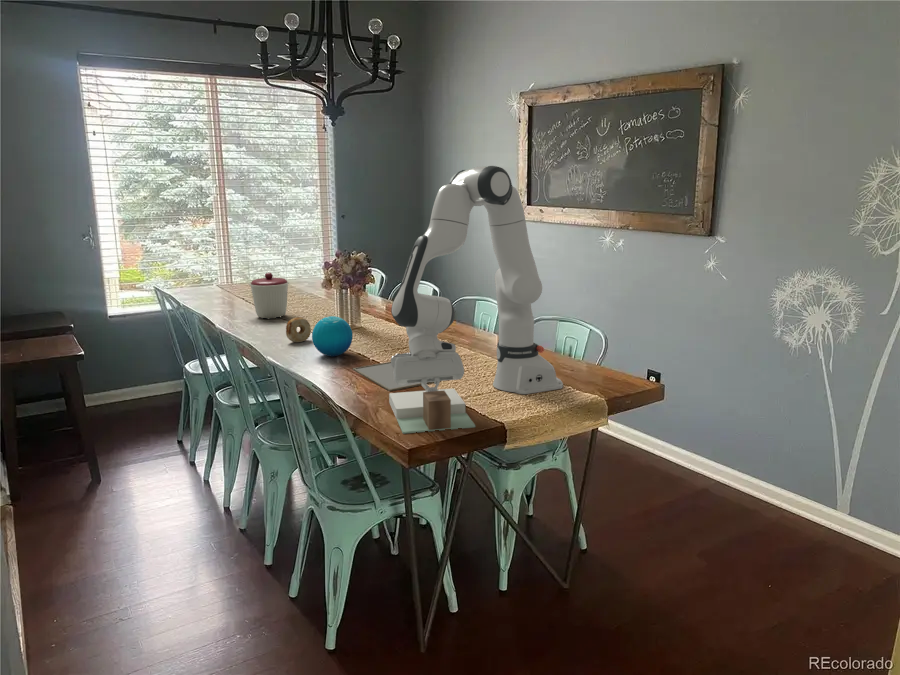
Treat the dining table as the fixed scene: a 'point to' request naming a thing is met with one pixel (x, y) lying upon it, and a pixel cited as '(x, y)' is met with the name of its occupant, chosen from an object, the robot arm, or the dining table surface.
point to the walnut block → (436, 410)
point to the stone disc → (292, 329)
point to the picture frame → (383, 376)
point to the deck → (420, 403)
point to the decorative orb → (332, 336)
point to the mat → (420, 426)
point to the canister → (270, 296)
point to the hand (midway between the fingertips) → (432, 394)
